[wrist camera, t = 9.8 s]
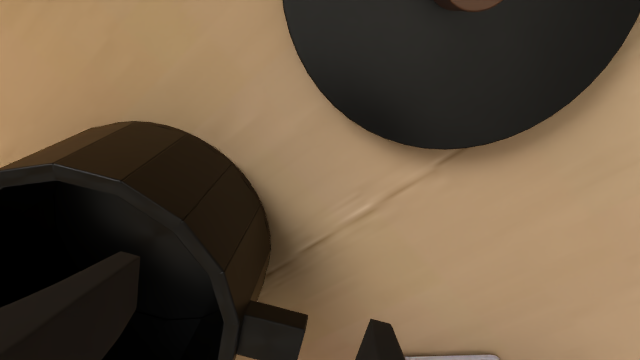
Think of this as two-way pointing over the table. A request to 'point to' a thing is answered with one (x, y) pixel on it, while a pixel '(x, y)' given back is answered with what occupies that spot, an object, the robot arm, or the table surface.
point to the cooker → (149, 240)
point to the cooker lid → (455, 62)
